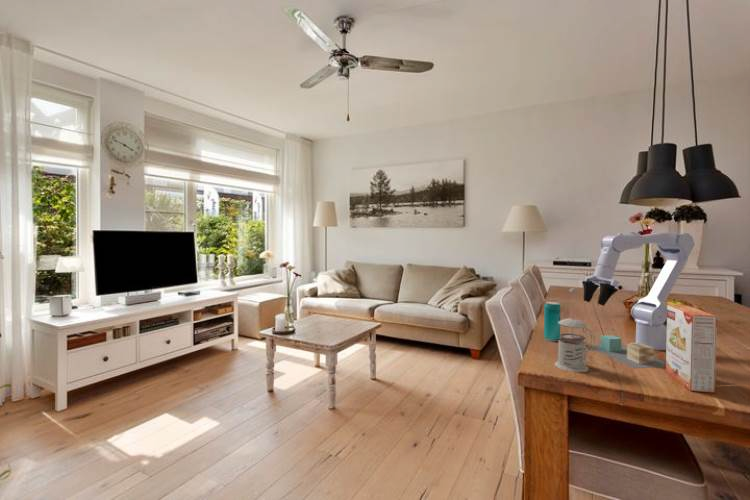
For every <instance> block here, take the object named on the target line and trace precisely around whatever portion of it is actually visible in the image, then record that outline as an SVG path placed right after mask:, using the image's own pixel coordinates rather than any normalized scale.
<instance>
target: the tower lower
mask: <svg viewBox="0 0 750 500" xmlns="http://www.w3.org/2000/svg"><path fill="white" fill-rule="evenodd" d="M654 358H655V357H654V356H638V355H635V354H633V353H631V352H628V351H627V359H629V360H632V361H634V362H636V363H638V364H645V363H653V360H654Z"/></svg>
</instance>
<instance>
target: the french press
mask: <svg viewBox="0 0 750 500" xmlns="http://www.w3.org/2000/svg"><path fill="white" fill-rule="evenodd" d="M569 292H570V293H577V289H576V288H573V287H572V288H570V289H569ZM571 309H572V314H571V315H572V317H571V318H564V319H560V321H559V322H558V323H559V325H560V327H565V328H568V329H569V328H571V333H569V332H565V333H563V332H562V333H560V338H559V340H558V349H557V351H558V352H557V353H558V354H557V361H556V362H554V366H555V367H556V368H559V369H560V370H563V371H566V372H567V371H568V372H571V373H572V372H574V373H585V372H588V371H589V370H590V368H589V367H588V366H587V363H586V362H587V353H588V352H590V351H591V350H593V349H592V348H593V347H594V346H595V345H596V336H595V334H594V332H593V331H592V330H591V329H589V328H587V327H588V324H587V323H585V322H584V321H582V320H581V319H580V320H579V319H577V318H574V306H572V308H571ZM574 329H582V332H583V333H584V334H586V333H587V331H588V332H589V334H590V343H589V345H587V342H586V341H585V339H586V337H585V336H584V335H581V334H579V333H578V334H577V333H574ZM584 330H585V331H584ZM571 342H573V343H571ZM592 342H593V345H592ZM587 346H588V347H587ZM590 346H593V347H592V348H590V349H589V347H590Z"/></svg>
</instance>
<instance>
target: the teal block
mask: <svg viewBox="0 0 750 500" xmlns="http://www.w3.org/2000/svg"><path fill="white" fill-rule="evenodd" d="M600 345H601V348H602V349H604V350H607V351H609V352H614V351H621V345H622V338H621V337H618V336H615V335H607V334H606V335H600Z"/></svg>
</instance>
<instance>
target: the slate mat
mask: <svg viewBox="0 0 750 500" xmlns="http://www.w3.org/2000/svg"><path fill="white" fill-rule="evenodd" d="M588 346H589V345H586V348H587V347H588ZM592 347H593V345H590V347H589V348H590V349H591V348H592ZM589 348H588V349H589ZM591 350H594V351H595V352H599V353H601V354H603V355H605V356H607V357H609V358H611V359H614V360H616V361H617V362H620V363H622V364H623V365H624V364H625V365H627V366H629V367H631V368H633V369H651V368H652V369H653V368H656V369H657V368H666V361H663V360H660V359H658V358H656V357H654V360H653V363H645V364H638V363H636V362H634V361H632V360H629V359H627V345H626V346H625V345H623V344H621V351H614V352H609V351H607V350H604V349H602V348H601V344H600V345H599V344H598V345H596V344H594V347H593V348H592V349H591Z"/></svg>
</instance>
